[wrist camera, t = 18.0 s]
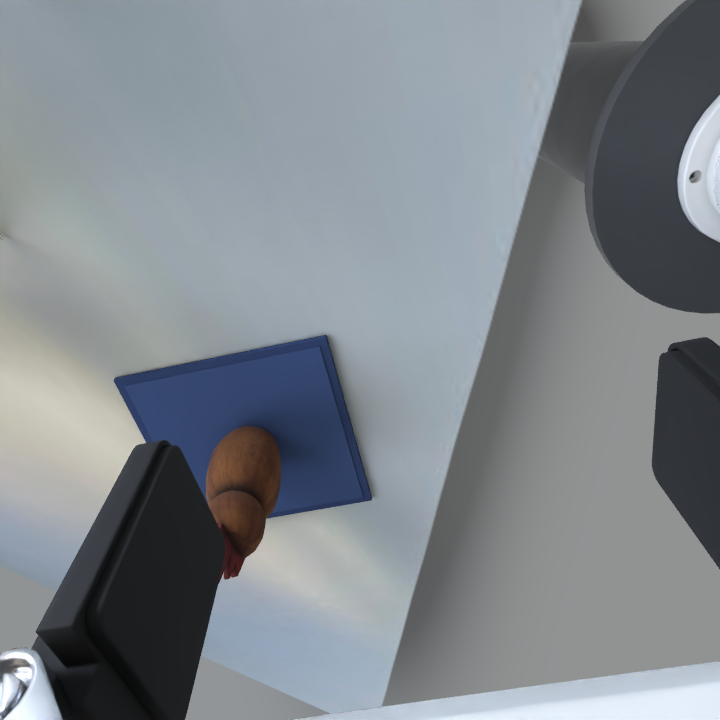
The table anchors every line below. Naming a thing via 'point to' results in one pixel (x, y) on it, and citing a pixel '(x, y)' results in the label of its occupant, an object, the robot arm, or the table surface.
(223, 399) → the blue square tray
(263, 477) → the wooden figurine
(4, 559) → the table surface
